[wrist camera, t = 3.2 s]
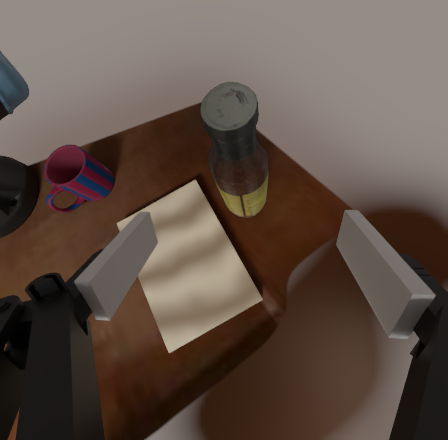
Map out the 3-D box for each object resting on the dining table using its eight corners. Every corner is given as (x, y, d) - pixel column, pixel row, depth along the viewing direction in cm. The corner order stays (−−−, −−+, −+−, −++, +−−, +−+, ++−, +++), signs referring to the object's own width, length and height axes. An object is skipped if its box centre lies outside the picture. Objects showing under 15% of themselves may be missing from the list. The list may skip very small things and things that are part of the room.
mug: (121, 175, 37) (94, 154, 31) (88, 224, 36) (52, 213, 29) (94, 161, 39) (62, 138, 32) (61, 207, 37) (20, 193, 31)
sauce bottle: (265, 182, 34) (284, 62, 15) (265, 220, 32) (286, 142, 13) (224, 182, 35) (192, 69, 16) (222, 219, 33) (184, 144, 14)
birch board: (124, 226, 35) (116, 223, 33) (198, 184, 35) (195, 179, 33) (174, 348, 29) (168, 353, 28) (262, 298, 30) (262, 299, 28)
